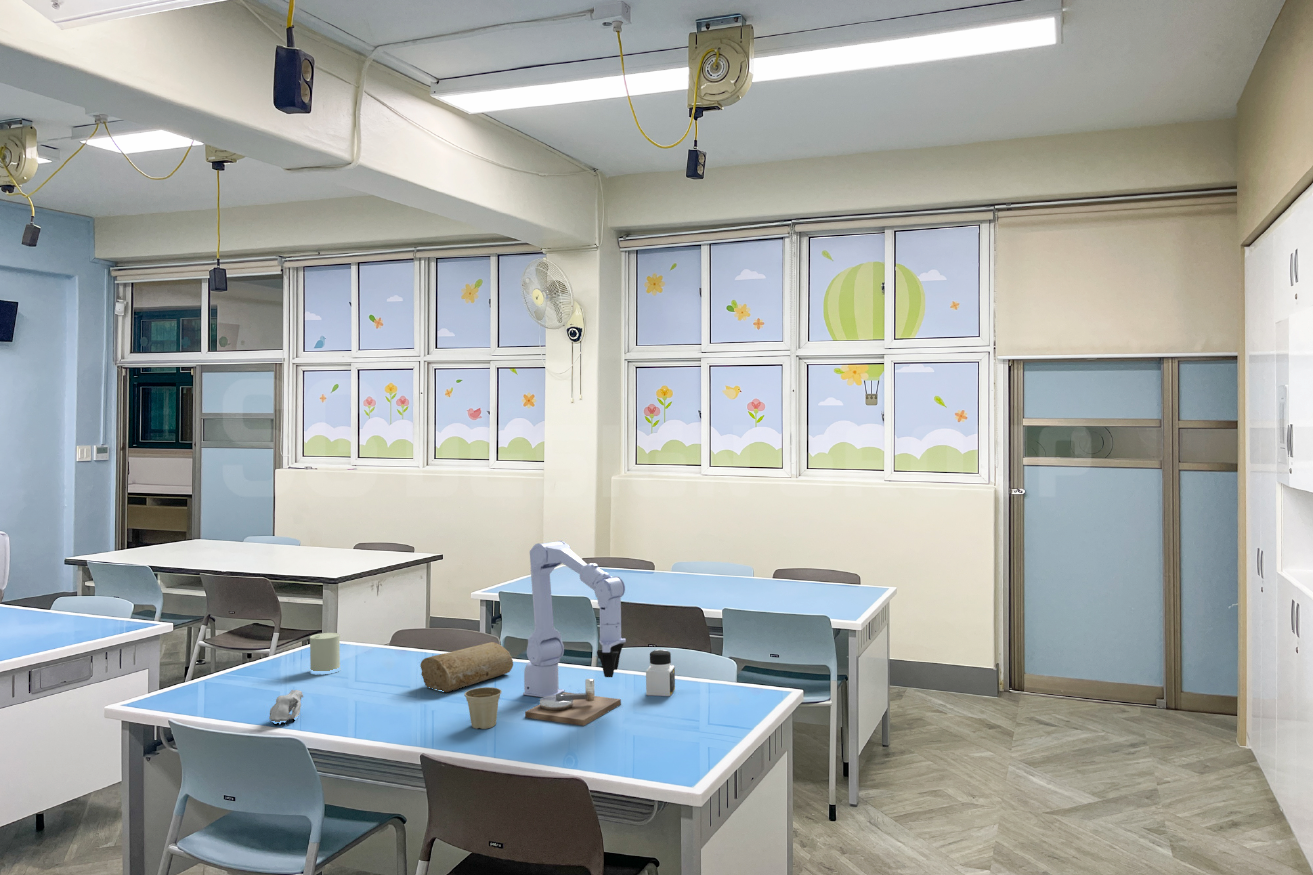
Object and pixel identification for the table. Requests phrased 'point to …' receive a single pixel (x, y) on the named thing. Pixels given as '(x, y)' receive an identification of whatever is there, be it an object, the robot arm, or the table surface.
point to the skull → (286, 706)
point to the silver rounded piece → (568, 698)
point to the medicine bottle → (660, 674)
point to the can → (324, 651)
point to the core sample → (465, 666)
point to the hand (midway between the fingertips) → (611, 673)
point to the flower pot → (483, 706)
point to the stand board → (576, 711)
